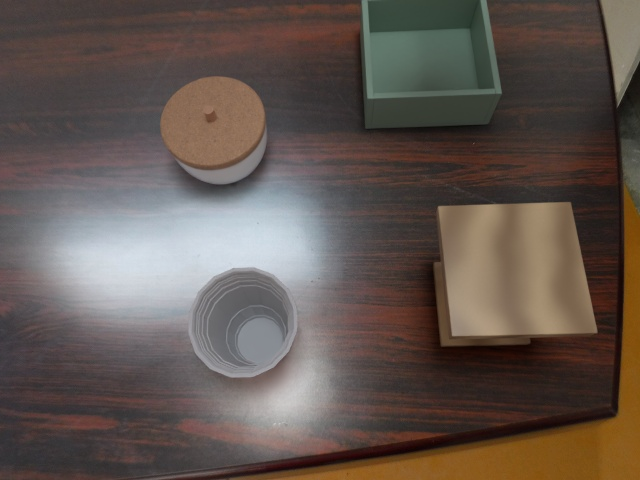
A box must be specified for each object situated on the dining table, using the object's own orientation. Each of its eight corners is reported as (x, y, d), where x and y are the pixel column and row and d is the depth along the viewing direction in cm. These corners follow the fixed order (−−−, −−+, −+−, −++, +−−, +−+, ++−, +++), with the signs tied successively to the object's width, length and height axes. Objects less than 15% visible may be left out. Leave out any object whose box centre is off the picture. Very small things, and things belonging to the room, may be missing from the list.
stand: (525, 250, 66) (570, 201, 53) (543, 357, 61) (598, 333, 48) (419, 253, 66) (437, 205, 53) (428, 360, 61) (451, 336, 48)
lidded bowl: (177, 201, 70) (148, 159, 60) (184, 119, 75) (159, 66, 64) (273, 198, 70) (261, 155, 59) (274, 116, 74) (263, 62, 64)
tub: (473, 27, 78) (484, -10, 72) (488, 124, 72) (502, 93, 66) (359, 32, 79) (361, -4, 73) (365, 129, 73) (367, 98, 67)
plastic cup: (203, 380, 62) (172, 366, 50) (226, 291, 65) (202, 258, 54) (296, 397, 60) (285, 386, 49) (313, 305, 64) (307, 275, 53)
